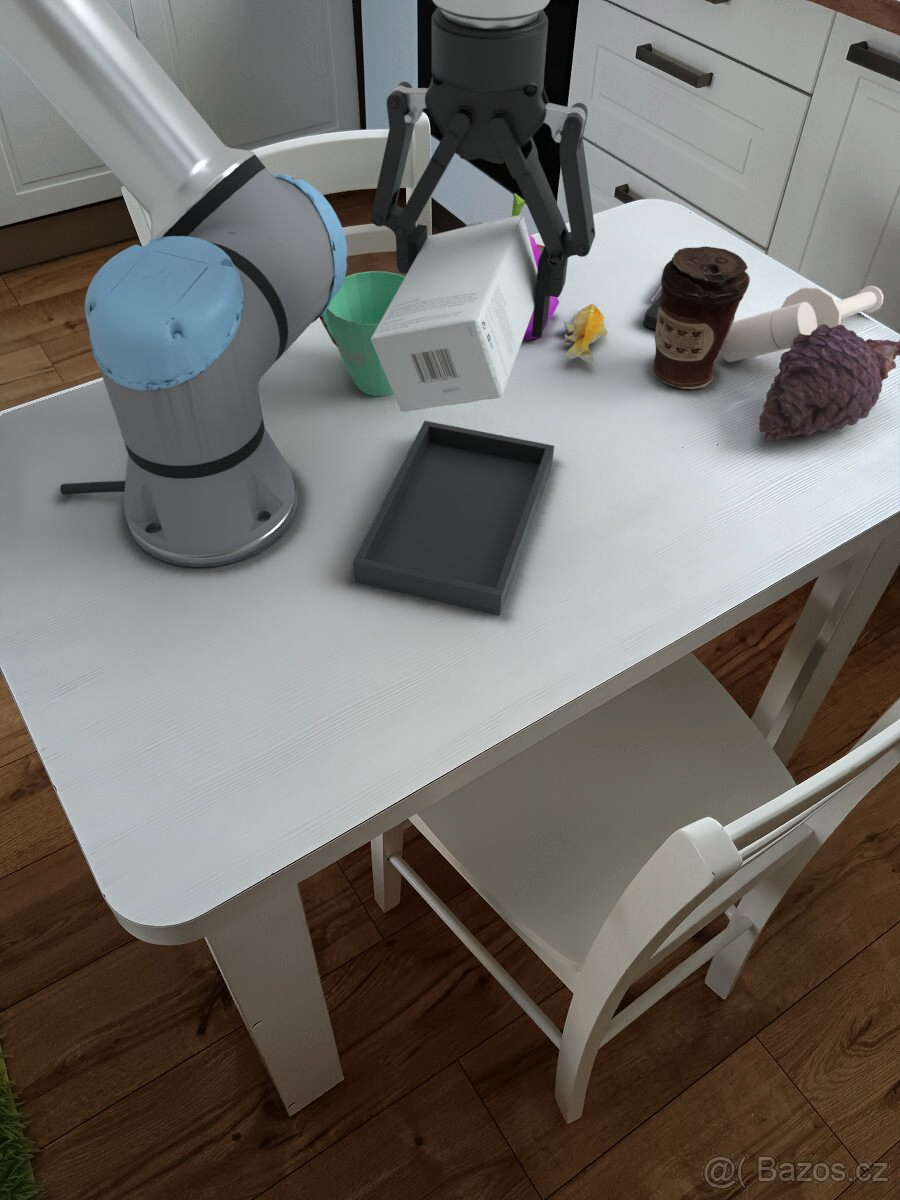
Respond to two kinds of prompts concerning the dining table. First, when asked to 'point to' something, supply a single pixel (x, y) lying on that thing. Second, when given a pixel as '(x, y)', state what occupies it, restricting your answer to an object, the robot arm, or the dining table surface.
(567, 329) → the fish
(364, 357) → the mug
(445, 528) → the dark grey tray
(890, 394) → the dining table surface
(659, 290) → the screw
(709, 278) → the coffee cup
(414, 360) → the cosmetic box
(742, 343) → the toilet paper hanger
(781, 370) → the pine cone
